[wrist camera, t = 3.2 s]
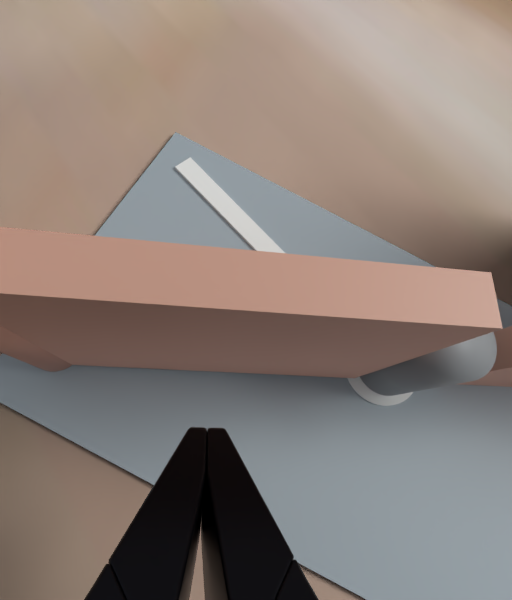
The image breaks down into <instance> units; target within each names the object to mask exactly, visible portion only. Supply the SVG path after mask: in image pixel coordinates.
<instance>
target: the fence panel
mask: <svg viewBox="0 0 512 600" xmlns="http://www.w3.org/2000/svg"><path fill="white" fill-rule="evenodd" d="M500 329H503V327H502V322H501V318H500V313H499V308H498V303H497V298H496V293H495V288H494V283H493V278H492V274H491V272H481V271H470V270H460V269H449V268H438V267H427V266H416V265H406V264H395V263H384V262H373V261H362V260H351V259H341V258H330V257H319V256H308V255H297V254H287V253H276V252H265V251H254V250H243V249H233V248H222V247H211V246H200V245H189V244H179V243H168V242H157V241H146V240H135V239H124V238H114V237H103V236H92V235H81V234H70V233H60V232H49V231H38V230H27V229H16V228H6V227H0V352H1V353H3V354H6V355H8V356H11V357H13V358H15V359H18V360H20V361H23V362H25V363H28V364H30V365H33V366H35V367H37V368H40V369H42V370H45V371H50V372H56V371H61V370H64V369H67V368H68V367H70V366H72V365H85V366H106V367H127V368H148V369H169V370H190V371H212V372H233V373H254V374H275V375H296V376H317V377H339V378H357V377H360V378H361V380H362V381H363V383H364V384H365V385H366V386H367V387H368V388H369V389H371V390H372V391H374V392H376V393H378V394H380V395H384V396H393V395H399V394H404V393H410V392H415V391H421V390H426V389H432V388H437V387H443V386H448V385H454V384H459V383H465V382H470V381H475V380H478V379H480V378H482V377H484V376H485V375H486V374H488V372H489V371H490V370H491V369H492V367H493V365H494V363H495V360H496V355H497V344H496V339H495V335H494V331H497V330H500Z"/></svg>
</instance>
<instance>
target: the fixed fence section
mask: <svg viewBox="0 0 512 600" xmlns="http://www.w3.org/2000/svg"><path fill="white" fill-rule="evenodd" d="M494 335H495V339H496V344H497V355H496V360H495V363H494V365H493V367H492V369H491V370H490V371H489V372H488V374H486V375H485V376H484V377H482V378H480V379H478V380H475V381H470V382H465V383H459V384H461V385H482V386H504V387H512V326H509V327H506V328H504V329H501V330H498V331H495V332H494Z"/></svg>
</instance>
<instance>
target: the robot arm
mask: <svg viewBox="0 0 512 600" xmlns="http://www.w3.org/2000/svg"><path fill="white" fill-rule="evenodd" d="M200 527H201V541H202V558H203V574H204V591H205V600H318V598H317V596H316V595H315V593H314V591H313V589H312V588H311V586H310V584H309V582H308V581H307V579H306V577H305V575H304V573H303V571H302V570H301V568H300V566H299V564H298V562H297V560H294V555H293V553H292V551H291V550H290V548H289V546H288V544H287V542H286V540H285V538H284V537H283V535H282V533H281V531H280V529H279V527H278V525H277V524H276V522H275V520H274V518H273V516H272V514H271V512H270V511H269V509H268V507H267V505H266V503H265V501H264V499H263V498H262V496H261V494H260V492H259V490H258V488H257V486H256V485H255V483H254V481H253V479H252V477H251V475H250V473H249V472H248V470H247V468H246V466H245V464H244V462H243V460H242V459H241V457H240V455H239V453H238V451H237V449H236V447H235V446H234V444H233V442H232V440H231V438H230V436H229V434H228V433H227V431H226V429H224V428H208V430H207V429H206V428H204V427H190V428H189V429H188V430H187V432H186V433H185V435H184V436H183V438H182V440H181V441H180V443H179V445H178V446H177V448H176V450H175V451H174V453H173V455H172V456H171V458H170V460H169V461H168V463H167V465H166V466H165V468H164V470H163V471H162V473H161V475H160V476H159V478H158V480H157V481H156V483H155V484H154V486H153V488H152V489H151V491H150V493H149V494H148V496H147V498H146V499H145V501H144V503H143V504H142V506H141V508H140V509H139V511H138V513H137V514H136V516H135V518H134V519H133V521H132V523H131V524H130V526H129V528H128V529H127V531H126V532H125V534H124V536H123V537H122V539H121V541H120V542H119V544H118V546H117V547H116V549H115V551H114V552H113V554H112V556H111V557H110V559H109V564H106V565H105V567H104V568H103V570H102V572H101V573H100V575H99V577H98V578H97V580H96V582H95V583H94V585H93V587H92V588H91V590H90V591H89V593H88V594H87V596H86V597H85V599H84V600H189V597H190V591H191V585H192V579H193V573H194V567H195V561H196V555H197V549H198V543H199V536H200Z"/></svg>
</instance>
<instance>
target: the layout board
mask: <svg viewBox="0 0 512 600" xmlns="http://www.w3.org/2000/svg"><path fill="white" fill-rule="evenodd" d="M95 236H103V237H114V238H124V239H135V240H146V241H157V242H168V243H179V244H189V245H200V246H211V247H222V248H233V249H243V250H254V251H265V252H276V253H287V254H297V255H308V256H319V257H330V258H341V259H351V260H362V261H373V262H384V263H395V264H406V265H416V266H427V267H435V266H433V265H431V264H429V263H428V262H426V261H424V260H422V259H420V258H418V257H416V256H414V255H412V254H410V253H408V252H406V251H404V250H402V249H400V248H399V247H397V246H395V245H393V244H391V243H389V242H387V241H385V240H383V239H381V238H379V237H377V236H375V235H373V234H371V233H370V232H368V231H366V230H364V229H362V228H360V227H358V226H356V225H354V224H352V223H350V222H348V221H346V220H344V219H342V218H341V217H339V216H337V215H335V214H333V213H331V212H329V211H327V210H325V209H323V208H321V207H319V206H317V205H315V204H313V203H312V202H310V201H308V200H306V199H304V198H302V197H300V196H298V195H296V194H294V193H292V192H290V191H288V190H286V189H285V188H283V187H281V186H279V185H277V184H275V183H273V182H271V181H269V180H267V179H265V178H263V177H261V176H259V175H257V174H256V173H254V172H252V171H250V170H248V169H246V168H244V167H242V166H240V165H238V164H236V163H234V162H232V161H230V160H228V159H227V158H225V157H223V156H221V155H219V154H217V153H215V152H213V151H211V150H209V149H207V148H205V147H203V146H201V145H199V144H198V143H196V142H194V141H192V140H190V139H188V138H186V137H184V136H182V135H180V134H178V133H176V132H175V134H174V135H173V136H172V138H171V139H170V140H169V141H168V143H167V144H166V145H165V146H164V148H163V149H162V150H161V152H160V153H159V154H158V155H157V157H156V158H155V159H154V160H153V162H152V163H151V164H150V166H149V167H148V168H147V169H146V171H145V172H144V173H143V175H142V176H141V177H140V178H139V180H138V181H137V182H136V183H135V185H134V186H133V187H132V189H131V190H130V191H129V192H128V194H127V195H126V196H125V197H124V199H123V200H122V201H121V203H120V204H119V205H118V206H117V208H116V209H115V210H114V212H113V213H112V214H111V215H110V217H109V218H108V219H107V220H106V222H105V223H104V224H103V226H102V227H101V228H100V229H99V231H98V232H97V233H96V234H95ZM497 303H498V308H499V313H500V318H501V322H502V327H503V329H504V328H506V327H509V326H512V306H511V305H509V304H507V303H505V302H503V301H501V300H499V299H497ZM500 330H501V329H500ZM497 331H498V330H497ZM494 332H495V331H494ZM0 403H2V404H4V405H6V406H8V407H10V408H11V409H13V410H15V411H17V412H19V413H21V414H23V415H24V416H26V417H28V418H30V419H32V420H34V421H36V422H37V423H39V424H41V425H43V426H45V427H47V428H49V429H50V430H52V431H54V432H56V433H58V434H60V435H62V436H63V437H65V438H67V439H69V440H71V441H73V442H75V443H76V444H78V445H80V446H82V447H84V448H86V449H88V450H89V451H91V452H93V453H95V454H97V455H99V456H101V457H102V458H104V459H106V460H108V461H110V462H112V463H114V464H115V465H117V466H119V467H121V468H123V469H125V470H127V471H128V472H130V473H132V474H134V475H136V476H138V477H140V478H141V479H143V480H145V481H147V482H149V483H151V484H153V485H154V484H155V483H156V481H157V480H158V478H159V476H160V475H161V473H162V471H163V470H164V468H165V466H166V465H167V463H168V461H169V460H170V458H171V456H172V455H173V453H174V451H175V450H176V448H177V446H178V445H179V443H180V441H181V440H182V438H183V436H184V435H185V433H186V432H187V430H188V429H189V428H190V427H204V428H206V429H207V430H208V428H224V429H226V431H227V433H228V434H229V436H230V438H231V440H232V442H233V444H234V446H235V447H236V449H237V451H238V453H239V455H240V457H241V459H242V460H243V462H244V464H245V466H246V468H247V470H248V472H249V473H250V475H251V477H252V479H253V481H254V483H255V485H256V486H257V488H258V490H259V492H260V494H261V496H262V498H263V499H264V501H265V503H266V505H267V507H268V509H269V511H270V512H271V514H272V516H273V518H274V520H275V522H276V524H277V525H278V527H279V529H280V531H281V533H282V535H283V537H284V538H285V540H286V542H287V544H288V546H289V548H290V550H291V551H292V553H293V555H294V560H297V562H298V563H299V564H301V565H303V566H305V567H307V568H309V569H311V570H312V571H314V572H316V573H318V574H320V575H322V576H324V577H325V578H327V579H329V580H331V581H333V582H335V583H337V584H338V585H340V586H342V587H344V588H346V589H348V590H350V591H351V592H353V593H355V594H357V595H359V596H361V597H363V598H364V599H366V600H512V387H504V386H482V385H461V384H454V385H448V386H443V387H437V388H432V389H426V390H421V391H415V392H410V393H404V394H399V395H393V396H384V395H380V394H378V393H376V392H374V391H372V390H371V389H369V388H368V387H367V386H366V385H365V384H364V383H363V381H362V380H361V378H360V377H357V378H339V377H317V376H296V375H275V374H254V373H233V372H212V371H190V370H169V369H148V368H127V367H106V366H85V365H72V366H70V367H68V368H67V369H64V370H61V371H56V372H50V371H45V370H42V369H40V368H37V367H35V366H33V365H30V364H28V363H25V362H23V361H20V360H18V359H15V358H13V357H11V356H8V355H6V354H3V353H2V354H1V356H0Z"/></svg>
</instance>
